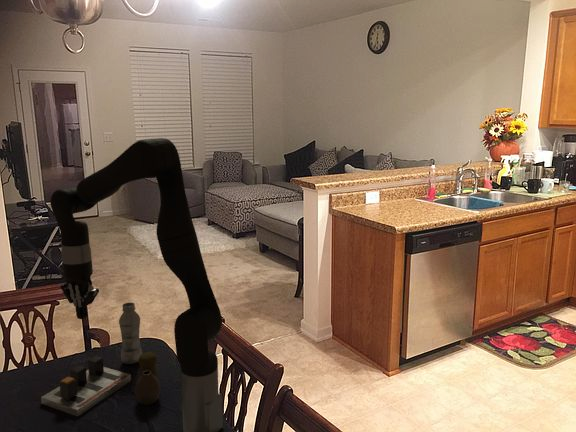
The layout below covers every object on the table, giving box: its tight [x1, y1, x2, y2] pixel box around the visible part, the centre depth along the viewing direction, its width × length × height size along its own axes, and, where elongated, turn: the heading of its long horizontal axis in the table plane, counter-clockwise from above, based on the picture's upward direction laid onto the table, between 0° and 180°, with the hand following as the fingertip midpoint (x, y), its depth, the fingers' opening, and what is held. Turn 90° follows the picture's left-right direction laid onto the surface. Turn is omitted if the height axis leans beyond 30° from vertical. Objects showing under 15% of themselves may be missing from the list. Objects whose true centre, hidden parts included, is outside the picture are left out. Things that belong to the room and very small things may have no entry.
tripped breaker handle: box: [59, 376, 77, 400], centre depth 133 cm, size 3×3×5 cm
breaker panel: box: [40, 355, 132, 417], centre depth 140 cm, size 14×20×6 cm
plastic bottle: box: [118, 302, 143, 365], centre depth 155 cm, size 6×7×20 cm
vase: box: [134, 371, 161, 406], centre depth 135 cm, size 7×7×9 cm
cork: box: [138, 351, 159, 380], centre depth 141 cm, size 6×6×11 cm
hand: (82, 318), depth 136 cm, fingers closed
